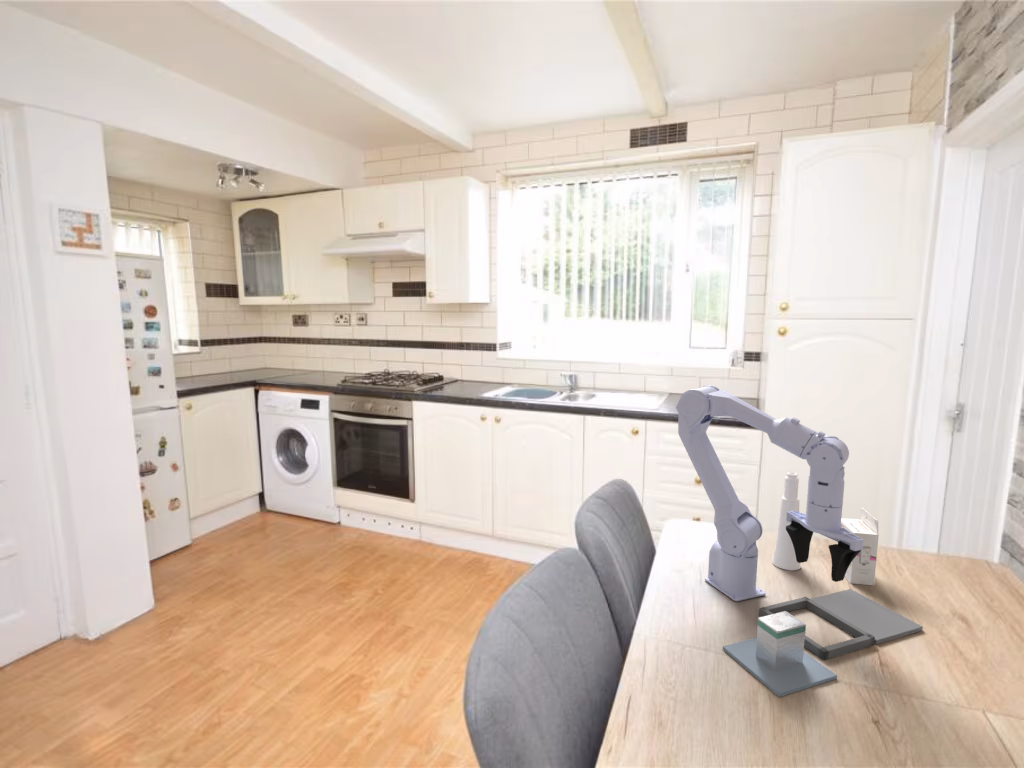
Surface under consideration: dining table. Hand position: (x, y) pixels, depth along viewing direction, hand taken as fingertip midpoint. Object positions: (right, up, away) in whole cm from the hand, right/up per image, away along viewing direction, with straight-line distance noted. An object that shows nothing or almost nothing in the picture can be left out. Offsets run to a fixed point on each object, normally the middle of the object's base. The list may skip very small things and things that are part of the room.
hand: (819, 570), depth 98 cm
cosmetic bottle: (+5, -7, +22) cm, 24 cm away
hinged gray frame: (+3, -10, -1) cm, 10 cm away
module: (-14, -11, -12) cm, 21 cm away
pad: (-14, -11, -12) cm, 22 cm away
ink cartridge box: (+18, -7, +17) cm, 26 cm away
